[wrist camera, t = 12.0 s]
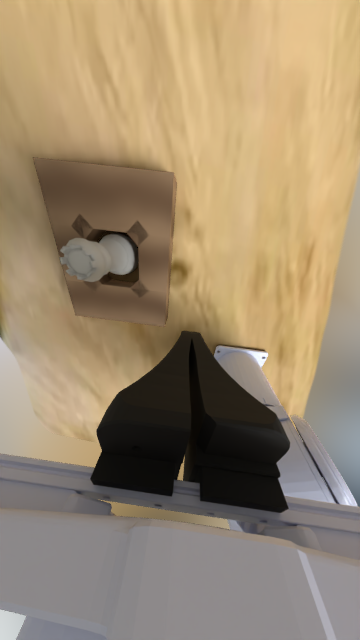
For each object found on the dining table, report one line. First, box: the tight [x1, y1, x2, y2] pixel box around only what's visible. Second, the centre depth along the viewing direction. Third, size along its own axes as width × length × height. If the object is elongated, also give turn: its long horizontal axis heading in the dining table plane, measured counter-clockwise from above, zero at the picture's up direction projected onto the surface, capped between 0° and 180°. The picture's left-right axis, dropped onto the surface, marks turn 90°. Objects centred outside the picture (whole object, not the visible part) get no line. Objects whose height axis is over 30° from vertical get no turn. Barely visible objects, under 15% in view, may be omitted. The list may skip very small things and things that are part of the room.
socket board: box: [33, 157, 177, 327], centre depth 17 cm, size 15×12×2 cm
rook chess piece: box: [59, 233, 139, 282], centre depth 14 cm, size 4×4×8 cm
